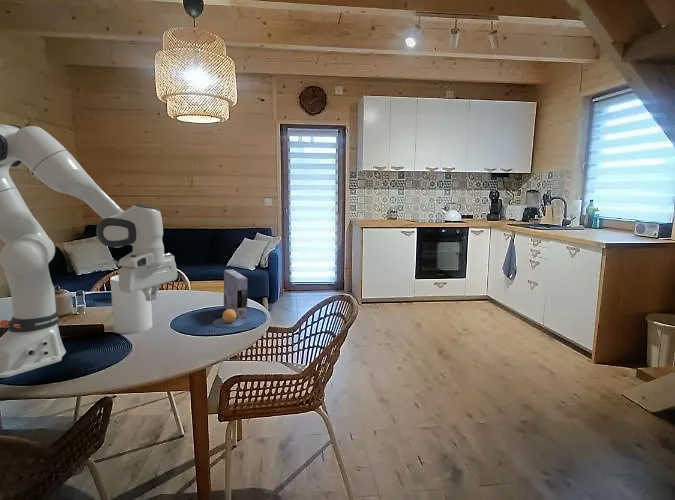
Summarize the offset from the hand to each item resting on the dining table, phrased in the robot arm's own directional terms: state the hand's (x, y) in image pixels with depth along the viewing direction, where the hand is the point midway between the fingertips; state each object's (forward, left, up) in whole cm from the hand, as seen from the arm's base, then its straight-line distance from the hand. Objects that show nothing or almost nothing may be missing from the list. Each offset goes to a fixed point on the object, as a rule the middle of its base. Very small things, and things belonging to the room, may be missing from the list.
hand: (151, 299), depth 135 cm
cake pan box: (+50, +5, -19) cm, 54 cm away
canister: (+18, +29, -19) cm, 39 cm away
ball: (+39, -1, -16) cm, 42 cm away
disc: (+38, 0, -19) cm, 43 cm away
